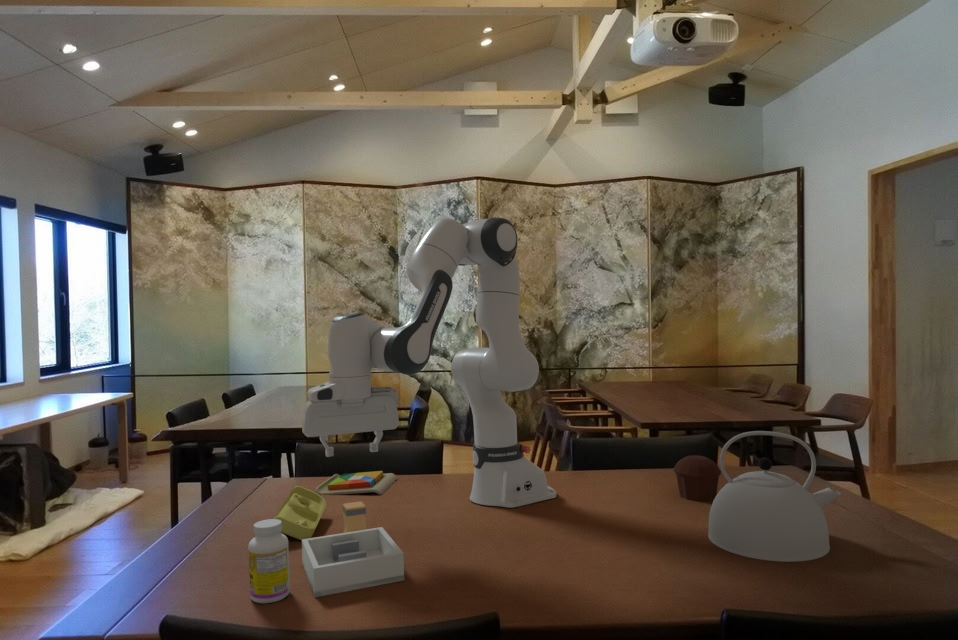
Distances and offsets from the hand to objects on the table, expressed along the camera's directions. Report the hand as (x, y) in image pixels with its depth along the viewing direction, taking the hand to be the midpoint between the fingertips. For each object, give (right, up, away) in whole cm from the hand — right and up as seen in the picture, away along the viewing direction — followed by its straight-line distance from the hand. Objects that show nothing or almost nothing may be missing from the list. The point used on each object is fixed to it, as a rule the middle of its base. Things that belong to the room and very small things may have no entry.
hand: (352, 453), depth 139 cm
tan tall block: (+1, -19, 0) cm, 19 cm away
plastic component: (-15, -20, +11) cm, 27 cm away
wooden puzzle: (-7, -19, +46) cm, 50 cm away
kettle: (+87, -17, -6) cm, 89 cm away
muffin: (+83, -17, +27) cm, 88 cm away
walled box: (+3, -19, -16) cm, 25 cm away
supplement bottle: (-9, -20, -25) cm, 34 cm away
